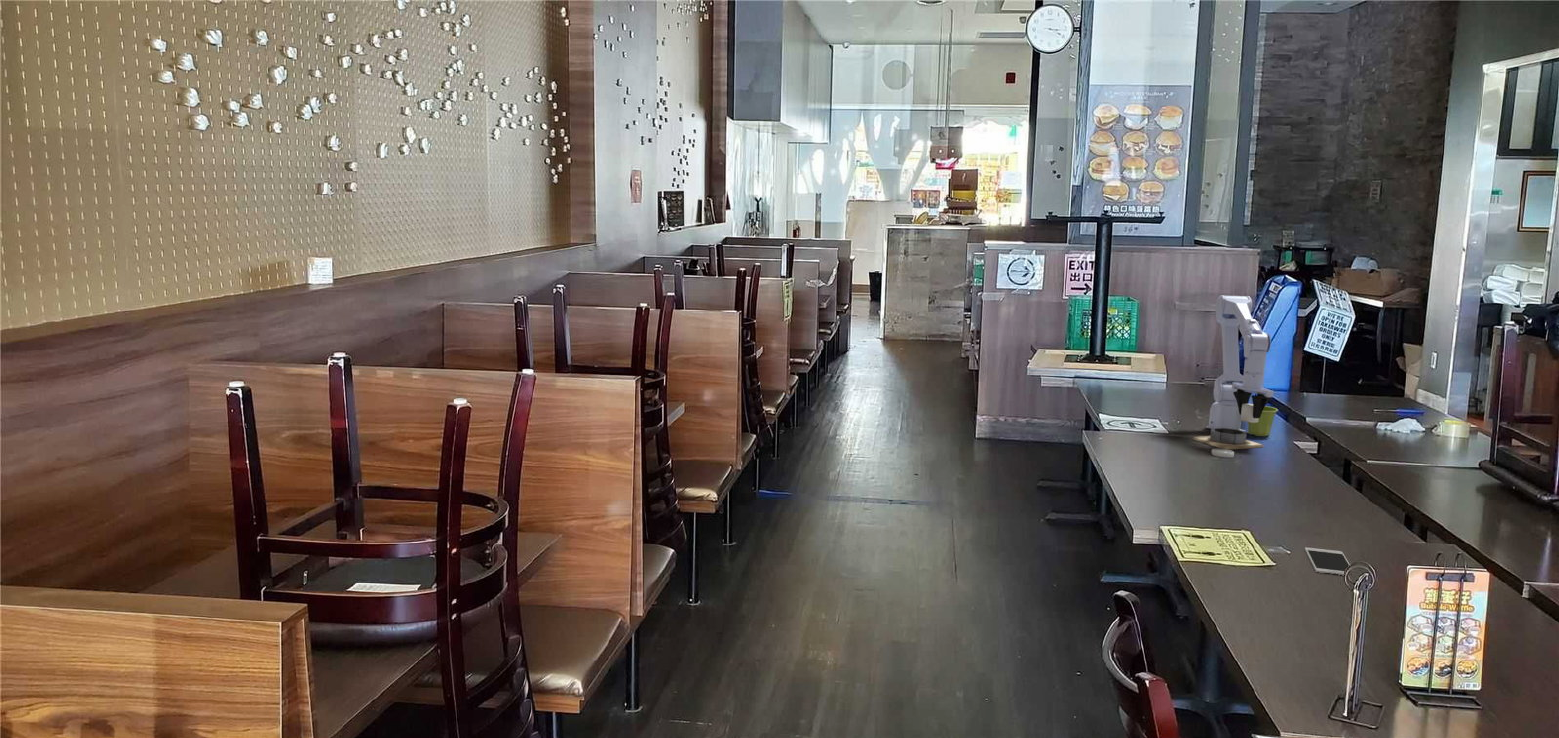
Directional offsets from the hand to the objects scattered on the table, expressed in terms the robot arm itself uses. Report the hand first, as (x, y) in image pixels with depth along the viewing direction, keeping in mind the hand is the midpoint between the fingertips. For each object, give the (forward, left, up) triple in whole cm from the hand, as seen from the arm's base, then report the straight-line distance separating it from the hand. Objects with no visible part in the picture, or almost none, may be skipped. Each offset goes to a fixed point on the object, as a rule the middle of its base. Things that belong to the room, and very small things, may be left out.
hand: (1249, 416), depth 323 cm
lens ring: (-1, -6, -8) cm, 11 cm away
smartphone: (+93, -67, -9) cm, 115 cm away
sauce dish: (+11, -19, -9) cm, 24 cm away
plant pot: (-9, +14, -9) cm, 18 cm away
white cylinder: (0, 0, -2) cm, 2 cm away
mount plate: (-1, -6, -8) cm, 11 cm away
